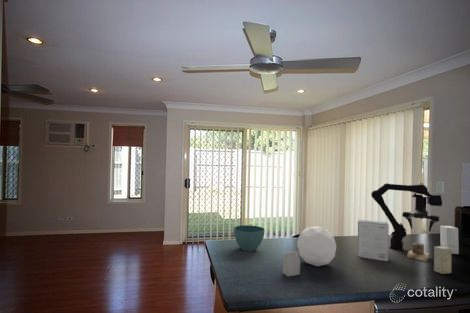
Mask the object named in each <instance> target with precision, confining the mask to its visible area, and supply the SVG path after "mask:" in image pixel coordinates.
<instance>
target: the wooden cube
mask: <svg viewBox="0 0 470 313" xmlns="http://www.w3.org/2000/svg"><path fill="white" fill-rule="evenodd" d="M411 250H412V253H415V254H420V255H423V254H424V252H425V244H423V243H417V242H413V243H412V249H411Z"/></svg>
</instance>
